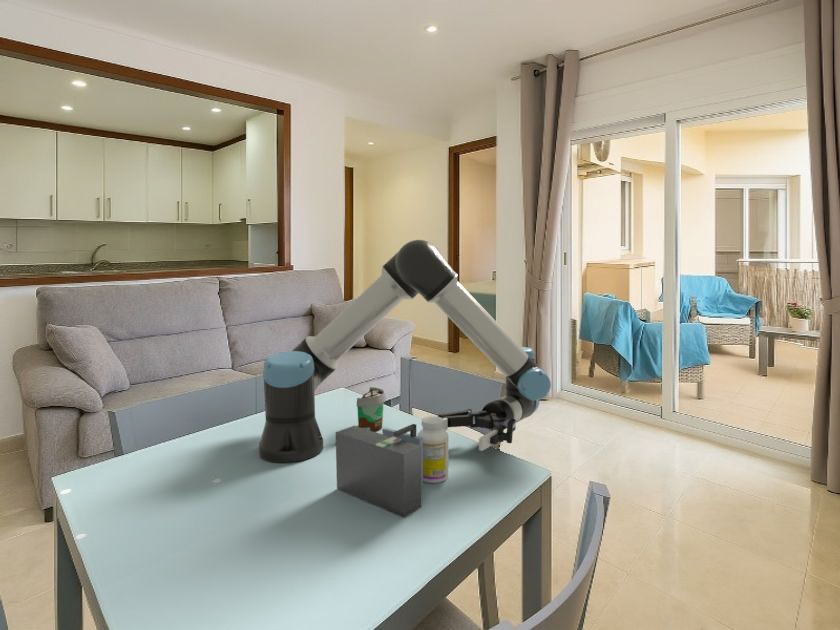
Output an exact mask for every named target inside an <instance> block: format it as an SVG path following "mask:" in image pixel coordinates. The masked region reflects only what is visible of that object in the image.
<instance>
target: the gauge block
mask: <svg viewBox="0 0 840 630" xmlns="http://www.w3.org/2000/svg"><path fill="white" fill-rule="evenodd" d="M335 461H336V465H335V466H336V468H335V469H336V490H338V491H340V492H343V493H345V494H347V495H350V496H352V497H355V498H357V499H359V500H361V501H363V502H367V503H369V504H371V505H373V506H376V507H378V508H380V509H383V510H385V511H386V512H390V513H392V514H394V515H397V516H399V517H402V518H406V517H407V516H410V515H411V514H412V513H414V512H416V511H417V510H419V509H420V508H422V486H421V446H420V445H416V444H413V443H410V442H406V441H403V440H401V439H400V438H396V437H390V436H386V435H383V433H379V432H373V431H370V430H366V429H363V428H360V427H358V426H356V425H352V426H349V427H346V428H343V429H341V430H338V431H336V432H335Z"/></svg>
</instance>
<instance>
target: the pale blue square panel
mask: <svg viewBox="0 0 840 630" xmlns="http://www.w3.org/2000/svg"><path fill="white" fill-rule="evenodd" d="M382 434H383V435H386V436H390V437H396V438H400V439H401V440H403V441H406V442H410V443H413V444H416V445H420V446H421V487H423V486H424V481H423V438H421V437H418V436H417V424H415V423H412V424H410V425H407V426H405V427H402V428H400V429H393V428H389V427H384V428H383V427H382Z"/></svg>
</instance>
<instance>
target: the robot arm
mask: <svg viewBox="0 0 840 630" xmlns="http://www.w3.org/2000/svg"><path fill="white" fill-rule="evenodd" d="M418 294H419V295H420V296H421V297H422V298H424V300H425V301H426V302H427V303H433V304H435V305H436V306H437V307H438V308H439V309H440V310H441V311H442V312H443V313H444V314H445V315H446V316H447V317H448V318H449V319H450V320H451V321H452V322H453V324H454V325H456V327H458V329H459V330H460V331H461V332H462V333H463V334H464V335H465V337H467V338H468V339H469V340H470V341H471V342H472V343H473V345H475V346H476V347H477V348H478V349H479V351H481V352H482V353H483V355H484V356H485V357H486V358H488V360H489V361H490V362H491V363H492V364H493V365H494V366H495V367H496V368H497V369H498V370H499V371H500V372H501V373H502V374H503V375H504V376H505V385H504V386H505V387H504V392H505V393H504V396H501V397H499V398H497V399H494V400H493V401H492V400H491V402H489V403H486V404H485V405H484V406H483V408H482V409H481V410H480V411H478V412H476V411H475V412H473V411H472V408H467V409H464V410H458V411H452V412H446V413H439V414H437V417H441V418H443V419H444V425H443V429H444V430H445V431H448V428H457V427H458V428H459V427H470V428H474V429H475V428H481V429H487V430H490V431H489V432H488V433H486V434H484V435H482V436H481V437H479V438H478V451H480V452H482V451H484V450H486V449H488V448H490V447H491V446H493V445H497V444H498V443H503V442H504V441H505V442H506V443H507V444H512V442H513V435H514V431H516V425H517V424H516V423H518V422H521V421H523V420H525V419H526V418H528V417H530V416H532V415H533V414H534V413H535V412H537V410H538V408H539V407H540V400H542V399H543V398H545V397H547V396H548V394H549V392H550V390H551V388H552V387H551V386H552V385H551V384H552V383H551V379H550V377H549V375H548V374H547V372H546V371H545V370H544V369H542V368H541V367H540V366H539V365H538V363H536V362H535V361H536V358H535V351H534V350H533V348H532V347H527V346H526V347H525V346H520V345H519V343H517V342H516V340H515V339H513V338H512V337H511V335H510V334H509V333H508V332H507V331H506V330H505V329H504V328H503V326H501V325H500V324H499V323H498V322H497V321H496V320H495V319H494V318H493V316H492V315H491V314H490V313H489V312H488V311H487V310H486V309H485V308H484V307H483V306H482V305H481V303H479V302H478V301H477V299H475V297H474V296H472V294H470V292H469V291H468V290H467V289H466V288H465V287H464V286H463V284H461V283H460V282H459V281H458V273H457V272H456V271H454V269H453V268H452V266H451V265H450V264H449V263H448V262H447V260H446V259H445V258H444V256H443V255H442V253H441V251H440V250H439V248H438V247H436V245H434V244H433V243H432V242H430V241H427V240H424V239H414V240H409V241H408V242H406V243H405V244H404V245H402V246H401V248H400V249H399V250H398V251H397V252H396V253H395V254H394V255H393V256H392V257H390V259H388V260H387V262H385V263H384V265H382V266H381V274H380V276H379V277H378V278H377V279H376V280H375V281H373V283H371V284H370V285H368V287H367V288H366V289H365V290H364V291H363V292H362V293H361V294H360V295H359V296H358V297H356V298H355V299H354V300H353V301H352V302H351V303H350V304H349V305H348V306H347V307H346V308H345V309H344V310H343V311H341V312H340V313H339V315H337V316H336V317H335V318H334V319H333V320H332V321H330V323H328V325H326V326H325V327H324V328H323V329H322V330H321V331H319V333H318V334H317V335H315V336H312V335H311V336H306V337H305V338H304V339H303V340H301V342H300V343H299V344H297V345H296V346H295V347H294V348H293V349H292V350H290V351H282V352H278V353H275V354H272V355H270V356H269V357H267V358H266V359H265V361H264V362H263V363H264V364H263V371H262V378H263V391H264V411H265V424H264V427H263V431H262V434H261V439H260V441H259V443H258V449H259V450H258V451H259V452H258V453H259V456H260V458H262V459H263V460H265V461H268V462H274V463H294V462H300V461H305V460H309V459H311V458H314V457H316V456H317V455H319V454H320V453H322V451H323V450H324V438H323V435H322V433H321V430H320V427H319V425H318V422H317V418H316V401H315V400H316V399H315V397H316V396H315V393H316V390H317V389H318V387H319V386H321V384H322V383H323V382H324V381H326V379H327V378H329V377H330V375H332V374H333V373H334V372H335V371H336V370H337V369H338V368H339V367H338V366H339V365H338V364H339V360H340V358H342V356H344V355H345V354H346V353H347V352H348V351H349V350H350V349H352V348H353V346H354V345H356V344H357V343H358V342H359V341H360V340H361V339H362V338H363V337H365V335H366V334H368V333H369V332H370V331H371V330H372V329H373V328H374V327H375V326H377V324H378V323H379V322H381V320H383V319H384V318H385V317H386V316H387V315H389V313H391V312H392V311H393V310H394V309H395V308H396V307H398V305H399V304H400V303H401V302H402V301H403V300H413V299H414V298H415V297H416V296H417V295H418ZM505 430H506V432H505Z"/></svg>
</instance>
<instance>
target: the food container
mask: <svg viewBox="0 0 840 630" xmlns="http://www.w3.org/2000/svg"><path fill="white" fill-rule="evenodd" d="M386 400H387V397H386V393H385V391H384V389H382V388H379V387H373V386H369V390H368V392H366V393H364V394H363V395H362V397H356V407H357V424H358V426H357V427H360V428H363V429H366V430H370V431H373V432H376V433H378V432H379V431H381V430H383V418H384V404H385V402H386Z"/></svg>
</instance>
